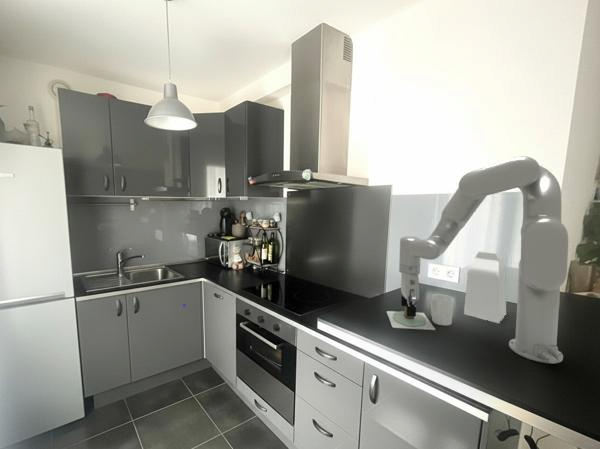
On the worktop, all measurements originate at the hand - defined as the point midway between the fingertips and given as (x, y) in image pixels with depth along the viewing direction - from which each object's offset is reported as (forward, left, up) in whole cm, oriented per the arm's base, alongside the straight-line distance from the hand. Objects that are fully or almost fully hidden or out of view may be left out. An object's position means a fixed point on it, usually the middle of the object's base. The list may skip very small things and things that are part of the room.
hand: (408, 310), depth 107 cm
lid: (0, 0, -4) cm, 4 cm away
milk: (+10, -32, -4) cm, 34 cm away
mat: (0, 0, -4) cm, 4 cm away
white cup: (0, -12, -4) cm, 13 cm away
